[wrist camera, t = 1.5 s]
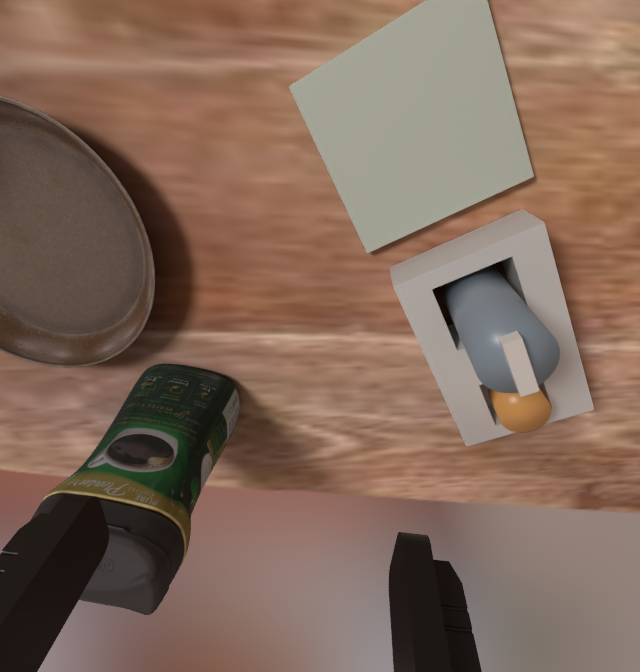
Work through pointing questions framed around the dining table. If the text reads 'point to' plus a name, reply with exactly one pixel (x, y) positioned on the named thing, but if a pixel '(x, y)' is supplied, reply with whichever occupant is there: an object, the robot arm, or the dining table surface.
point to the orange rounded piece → (521, 410)
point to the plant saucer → (66, 247)
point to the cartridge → (500, 333)
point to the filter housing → (534, 289)
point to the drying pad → (416, 120)
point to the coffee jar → (152, 480)
